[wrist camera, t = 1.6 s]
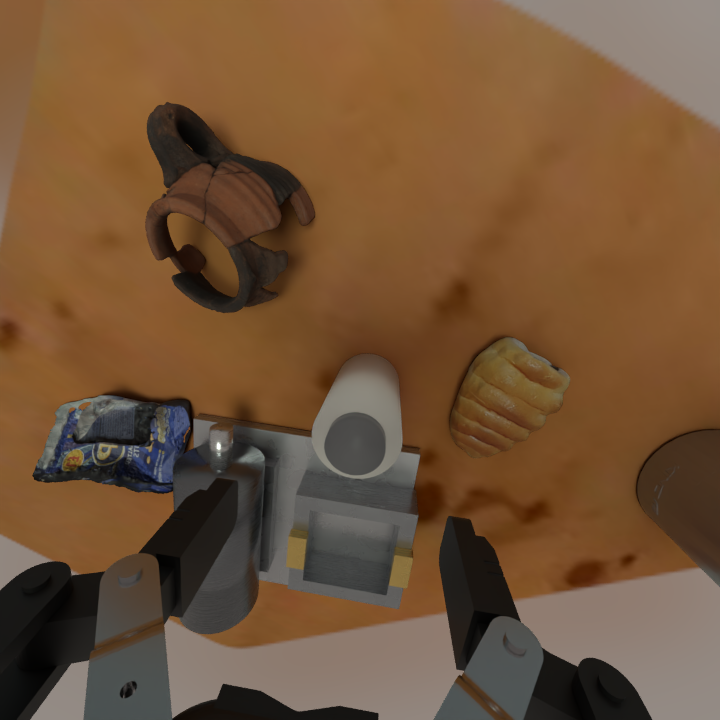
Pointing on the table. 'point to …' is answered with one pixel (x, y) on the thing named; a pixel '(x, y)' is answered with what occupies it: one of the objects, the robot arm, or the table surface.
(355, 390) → the white cylinder roll
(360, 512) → the motor unit
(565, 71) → the table surface
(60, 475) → the snack package
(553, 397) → the pastry
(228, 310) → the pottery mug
